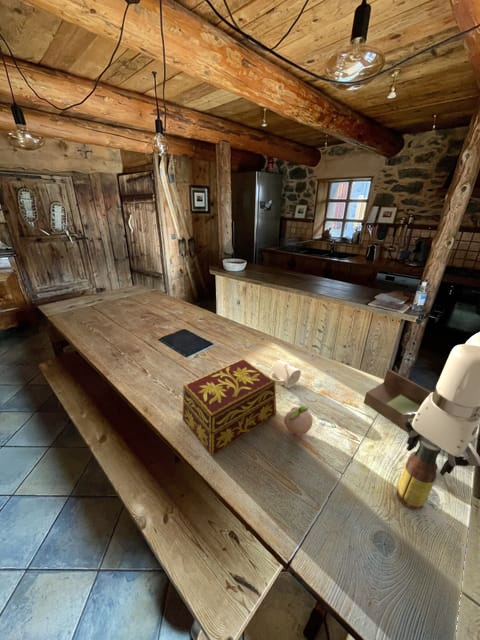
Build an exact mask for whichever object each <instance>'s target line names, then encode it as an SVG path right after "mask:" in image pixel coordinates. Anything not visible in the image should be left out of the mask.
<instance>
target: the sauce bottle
mask: <svg viewBox="0 0 480 640" xmlns="http://www.w3.org/2000/svg"><path fill="white" fill-rule="evenodd" d="M418 443H419V445H418V448H417V449H416V452H415V451H412V452H411V453H410V454H409V456H408V458H407V461H406V463H405V465H404V468H403V471H402V473H401V477H400V479H399V482H398V484H397V487H396V488H397V489H396V495H397V497H398V500H399V501H400V502H401V503H402V504H403V505H404V506H406V507H407V508H409V509H411V510H415V511H417V510H420V509H421V510H422V508H423V507H424V505H425V504H426V502H427V500H428V498H429V496H430V493H431V491H432V489H433V486H434V484H435V481H436V478H437V474H438V473H437V471H436V464H437V458H438V456H439V454H441V451H442V449H441V448H440V447H438V446H437V445H435V444H434V443H432V442H431V441H429V440H428V439H427V438H425V437H422V438H421V440H420V441H418Z"/></svg>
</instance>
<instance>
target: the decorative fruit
mask: <svg viewBox="0 0 480 640" xmlns="http://www.w3.org/2000/svg"><path fill="white" fill-rule="evenodd" d="M283 419H284V420H283V421H284V425H285V428H286V429H287V430H288V431H289V432H290V433H291V434H293V435H305V434H307V433H308V432H309V431H310V430H311V428H312V426H313V416H312V414H311V412H310V411H309V407H308V406H307V405H295V406H293V407H292V408H290V411H288V412H287V413H286V414H285V416H284V418H283Z"/></svg>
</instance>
